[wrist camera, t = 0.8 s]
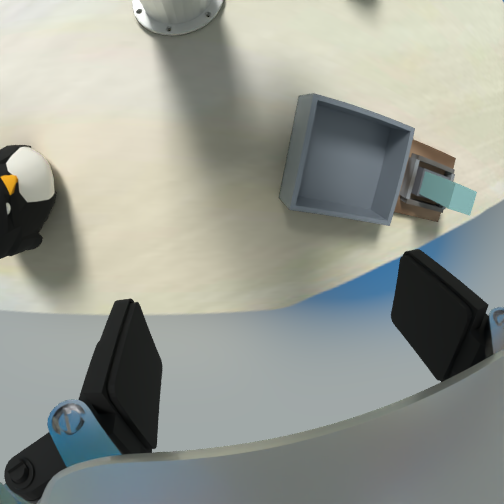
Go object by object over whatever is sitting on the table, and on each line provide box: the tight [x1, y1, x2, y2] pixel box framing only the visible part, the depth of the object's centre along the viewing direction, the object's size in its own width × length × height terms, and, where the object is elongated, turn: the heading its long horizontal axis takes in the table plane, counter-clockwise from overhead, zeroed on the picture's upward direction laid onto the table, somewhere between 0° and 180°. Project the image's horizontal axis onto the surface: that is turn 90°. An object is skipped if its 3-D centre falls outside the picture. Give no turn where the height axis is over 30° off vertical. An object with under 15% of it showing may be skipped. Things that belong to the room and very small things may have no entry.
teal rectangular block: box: [411, 166, 477, 215], centre depth 41 cm, size 5×7×10 cm
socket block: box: [394, 140, 456, 222], centre depth 45 cm, size 13×13×3 cm
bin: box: [279, 93, 415, 226], centre depth 40 cm, size 15×16×6 cm
